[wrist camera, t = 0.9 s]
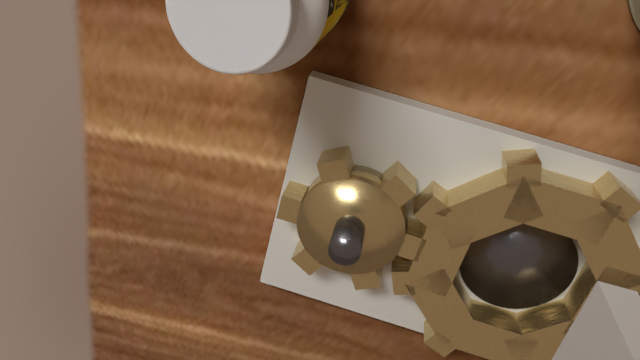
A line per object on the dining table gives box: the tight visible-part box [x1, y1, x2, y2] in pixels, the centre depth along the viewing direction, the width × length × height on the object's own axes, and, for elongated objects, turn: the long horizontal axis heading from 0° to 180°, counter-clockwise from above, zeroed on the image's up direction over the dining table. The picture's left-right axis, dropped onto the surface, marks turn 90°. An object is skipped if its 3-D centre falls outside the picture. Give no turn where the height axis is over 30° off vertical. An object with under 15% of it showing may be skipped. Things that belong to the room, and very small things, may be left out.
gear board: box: [260, 70, 640, 333], centre depth 32 cm, size 15×24×1 cm, turn 76°
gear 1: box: [276, 146, 426, 290], centre depth 30 cm, size 8×9×4 cm
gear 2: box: [391, 149, 640, 360], centre depth 31 cm, size 14×14×2 cm
